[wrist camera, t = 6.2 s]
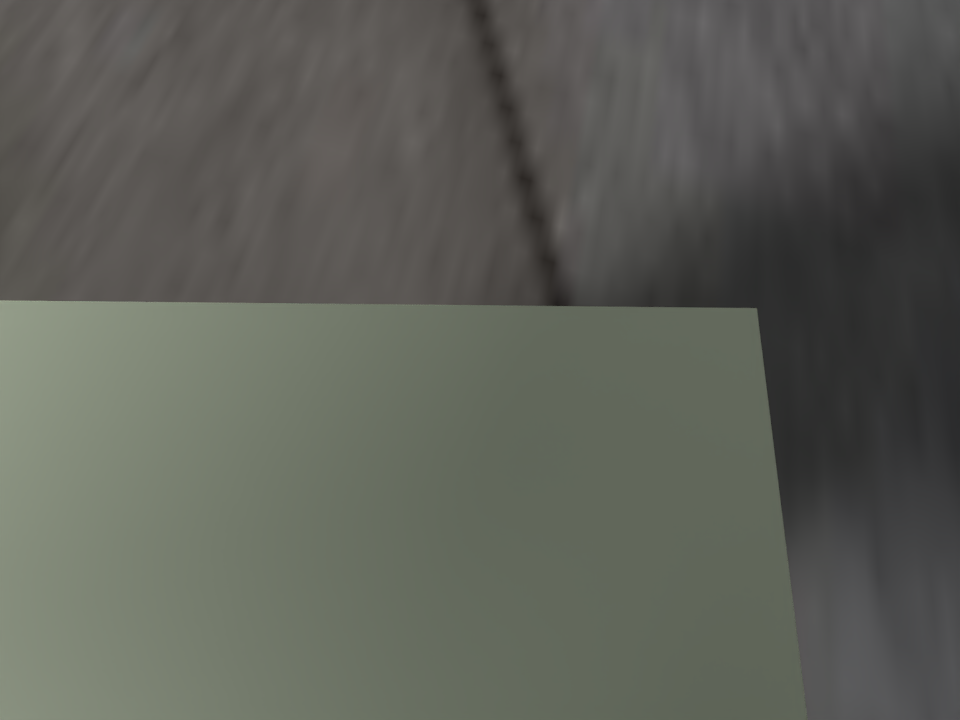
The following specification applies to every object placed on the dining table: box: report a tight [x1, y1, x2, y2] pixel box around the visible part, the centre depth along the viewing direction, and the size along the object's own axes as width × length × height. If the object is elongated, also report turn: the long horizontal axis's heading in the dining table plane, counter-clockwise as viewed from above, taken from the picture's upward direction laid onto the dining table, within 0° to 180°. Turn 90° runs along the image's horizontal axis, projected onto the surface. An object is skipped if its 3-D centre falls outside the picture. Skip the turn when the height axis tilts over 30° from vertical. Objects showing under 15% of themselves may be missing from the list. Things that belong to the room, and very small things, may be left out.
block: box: [0, 301, 807, 720], centre depth 8 cm, size 5×5×12 cm
